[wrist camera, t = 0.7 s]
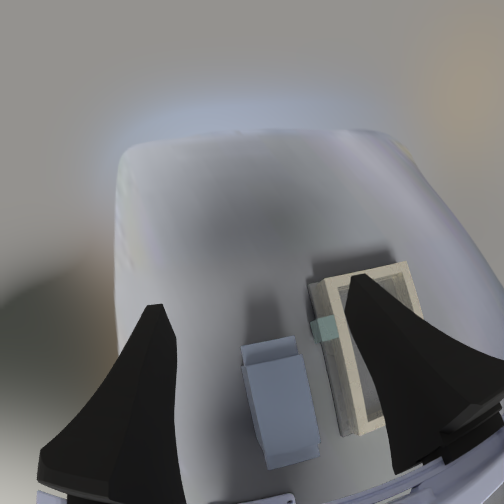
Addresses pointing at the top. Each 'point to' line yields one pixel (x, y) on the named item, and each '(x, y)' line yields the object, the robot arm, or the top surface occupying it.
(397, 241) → the top surface
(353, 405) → the frame
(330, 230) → the top surface
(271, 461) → the block
